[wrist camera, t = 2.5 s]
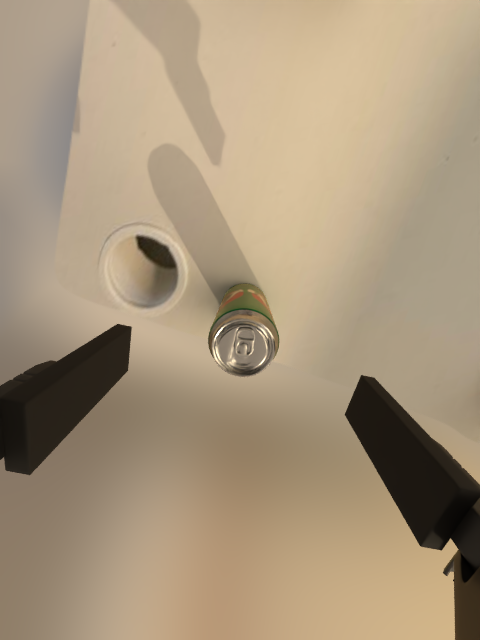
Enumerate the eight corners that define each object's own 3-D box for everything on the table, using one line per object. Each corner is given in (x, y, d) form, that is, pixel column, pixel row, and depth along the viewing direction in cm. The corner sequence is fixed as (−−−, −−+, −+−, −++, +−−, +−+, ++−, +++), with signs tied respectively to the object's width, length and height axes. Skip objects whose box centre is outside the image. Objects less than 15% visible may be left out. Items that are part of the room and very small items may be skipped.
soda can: (220, 322, 28) (202, 377, 17) (224, 279, 27) (208, 308, 15) (263, 328, 28) (274, 385, 17) (270, 285, 27) (287, 317, 15)
